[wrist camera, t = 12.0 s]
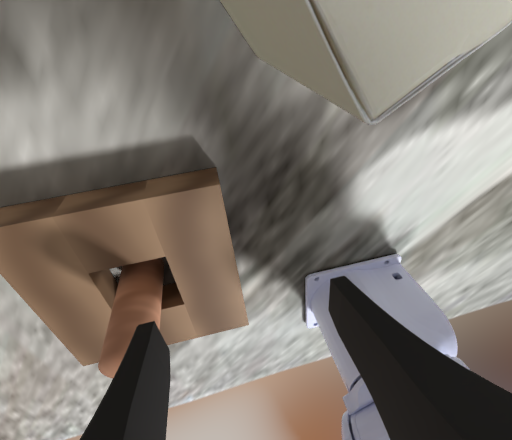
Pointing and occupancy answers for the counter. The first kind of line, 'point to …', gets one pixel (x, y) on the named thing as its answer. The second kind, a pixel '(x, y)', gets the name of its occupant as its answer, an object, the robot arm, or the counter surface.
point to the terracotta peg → (132, 310)
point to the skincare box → (367, 44)
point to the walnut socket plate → (124, 257)
